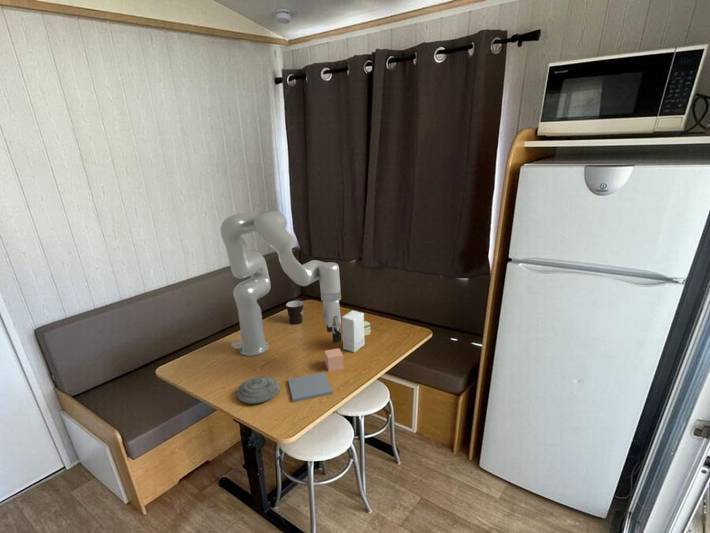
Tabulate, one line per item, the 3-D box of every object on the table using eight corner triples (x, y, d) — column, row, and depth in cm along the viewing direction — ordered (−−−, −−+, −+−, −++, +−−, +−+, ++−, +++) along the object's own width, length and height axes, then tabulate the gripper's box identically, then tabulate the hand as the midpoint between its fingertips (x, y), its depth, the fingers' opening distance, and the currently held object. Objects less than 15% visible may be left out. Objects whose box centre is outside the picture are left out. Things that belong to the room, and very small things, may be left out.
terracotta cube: (328, 371, 146) (328, 358, 144) (325, 364, 152) (324, 350, 150) (343, 368, 148) (343, 355, 146) (339, 361, 153) (339, 348, 152)
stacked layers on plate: (366, 328, 182) (366, 318, 181) (376, 335, 175) (376, 324, 173) (348, 333, 177) (348, 323, 176) (357, 341, 170) (357, 330, 168)
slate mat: (293, 402, 128) (292, 399, 128) (288, 381, 140) (288, 379, 140) (332, 393, 132) (332, 391, 132) (324, 374, 144) (324, 372, 144)
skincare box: (353, 341, 169) (352, 309, 165) (365, 345, 165) (365, 312, 161) (342, 349, 163) (341, 316, 158) (354, 353, 159) (353, 319, 154)
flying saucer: (254, 378, 144) (253, 365, 142) (288, 386, 138) (286, 373, 136) (227, 401, 130) (225, 387, 129) (263, 411, 125) (261, 396, 123)
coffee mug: (296, 326, 186) (295, 308, 183) (284, 323, 190) (282, 305, 188) (311, 318, 195) (310, 300, 192) (299, 315, 200) (297, 297, 197)
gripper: (316, 289, 148) (320, 329, 153) (326, 304, 132) (329, 348, 137) (334, 287, 150) (337, 326, 155) (346, 301, 134) (349, 344, 139)
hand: (334, 336), depth 146 cm, fingers open, 9 cm apart
